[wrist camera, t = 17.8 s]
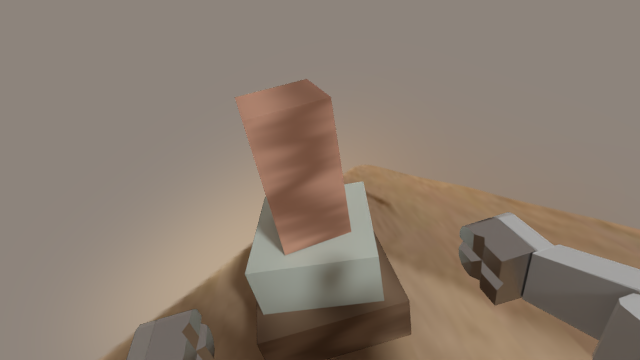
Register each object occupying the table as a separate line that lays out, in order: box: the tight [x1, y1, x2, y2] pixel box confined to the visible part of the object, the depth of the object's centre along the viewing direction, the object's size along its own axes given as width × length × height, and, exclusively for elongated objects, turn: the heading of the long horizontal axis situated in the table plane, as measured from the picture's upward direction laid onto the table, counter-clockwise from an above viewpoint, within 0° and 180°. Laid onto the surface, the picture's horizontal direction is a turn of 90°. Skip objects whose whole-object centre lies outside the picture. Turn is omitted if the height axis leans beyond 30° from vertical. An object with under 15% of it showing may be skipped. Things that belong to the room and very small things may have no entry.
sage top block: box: [245, 182, 384, 315], centre depth 26 cm, size 9×9×4 cm
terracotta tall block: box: [235, 79, 351, 255], centre depth 22 cm, size 5×5×10 cm
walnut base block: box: [257, 231, 411, 360], centre depth 28 cm, size 11×11×4 cm
